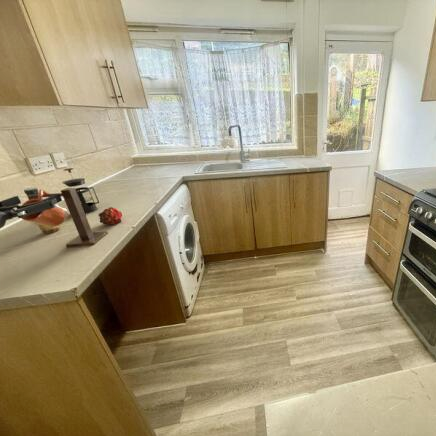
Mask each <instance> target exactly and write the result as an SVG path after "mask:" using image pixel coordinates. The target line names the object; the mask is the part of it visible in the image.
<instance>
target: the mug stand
mask: <svg viewBox="0 0 436 436" xmlns="http://www.w3.org/2000/svg"><path fill="white" fill-rule="evenodd" d="M75 188H76V187H67V188H63V189H61V190H60V192H58V193H50V194H43V195H42V198H48V197H51V196H53V195H56V194H60V197H62V198H63V200H64V203H65V205H66V207H67V209H68V210H67V211H68V213H69V215H70V216H71V218H72V221H73V224H74V227H75V228H76V230H77V234H78V235H77V236H76V237H75V238H73V239H71V240H69V241H68V242H67V243H66V244H65V247H66V248H67V249H68V248H79V247H88V246H95V245H96V244H97V243H98V242H100V241H101V240H102V239H103V238H105V237H106V236H107V235H108V234H109V232H108V230H105V231H92V227H91V225H90V222H89V221H88V218H87V214H85V213H84V210H83V207H82V205H81V202H80V200H79V197H78V195H77V192H76V190H75ZM38 195H39V194H36V195H28V196H27V195H26V197H27V199H28V198H38Z"/></svg>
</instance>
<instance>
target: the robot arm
mask: <svg viewBox="0 0 436 436" xmlns="http://www.w3.org/2000/svg"><path fill="white" fill-rule="evenodd" d="M42 199H43V201H39V202H35V203H30V204H26V205H22V201H21V199H20V198H19V196H18V195H14V196H11V197H9V198H6V199H3V200H1V201H0V229H2V228H4V227H5V225H6V223H7V221H9V220H12V219H14V218H18V219H22V218H23V217H25V216H28V215H31V214H34V213H38V212H41V211H44V210H48V209H52V208H54V207H55V206H54V204H58V203H60V202H62V201H63V199H62V196H60V194H56V195H53V196H51V197H45V198H42Z"/></svg>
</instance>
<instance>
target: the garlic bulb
mask: <svg viewBox="0 0 436 436" xmlns="http://www.w3.org/2000/svg"><path fill="white" fill-rule="evenodd" d="M54 205H55V206H57V207H60V205H58V203H56V204H54ZM60 208H61V209H63V210H64V211H65V216H66V215H68V214H69V210H67V209H68V208H67V209H66V208H65V207H60Z"/></svg>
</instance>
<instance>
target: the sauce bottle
mask: <svg viewBox="0 0 436 436" xmlns="http://www.w3.org/2000/svg"><path fill="white" fill-rule="evenodd" d="M23 192H24V194H25V195H26V197H27V196H28V195H36V194H39V189H38V188H37V187H29V188H25V189H23ZM27 199H28V200H30V199H38V198H28V197H27ZM43 199H44V198H42V199H41V200H43ZM37 226H38V228H39V230H40V231H41V232H42V233H43V234H51V233H54V232H57V231H60V229H61V227H60V225H58V226H56V227H46V226H42V225H39V224H37Z"/></svg>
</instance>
